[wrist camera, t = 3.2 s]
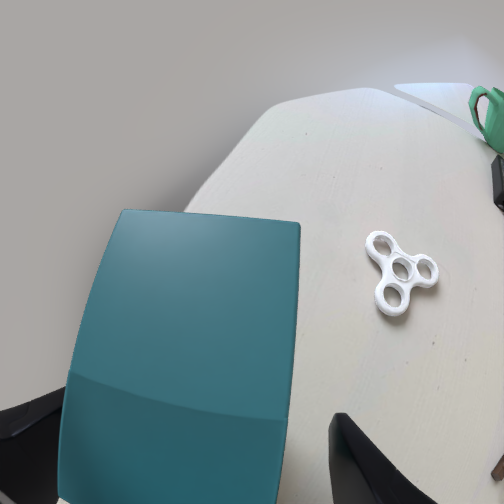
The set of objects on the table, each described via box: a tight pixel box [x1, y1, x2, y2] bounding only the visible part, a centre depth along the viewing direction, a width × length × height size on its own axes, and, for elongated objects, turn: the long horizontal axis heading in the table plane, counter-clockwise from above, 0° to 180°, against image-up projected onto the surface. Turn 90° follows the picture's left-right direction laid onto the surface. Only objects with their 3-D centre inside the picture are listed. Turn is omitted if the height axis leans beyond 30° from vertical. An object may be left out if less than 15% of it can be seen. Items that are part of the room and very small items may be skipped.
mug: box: [469, 86, 504, 153], centre depth 28 cm, size 15×10×10 cm
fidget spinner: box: [365, 231, 439, 316], centre depth 18 cm, size 7×6×1 cm
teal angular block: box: [58, 209, 301, 504], centre depth 10 cm, size 7×4×13 cm, turn 173°
